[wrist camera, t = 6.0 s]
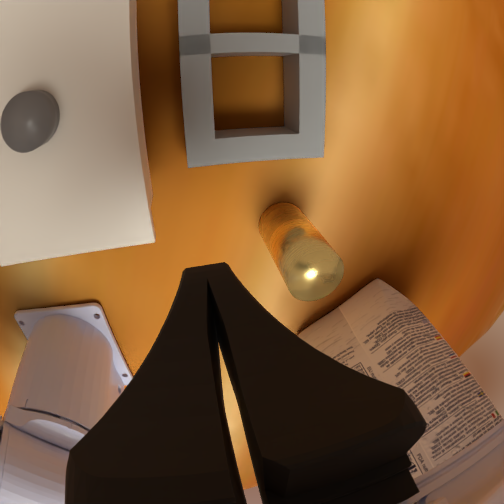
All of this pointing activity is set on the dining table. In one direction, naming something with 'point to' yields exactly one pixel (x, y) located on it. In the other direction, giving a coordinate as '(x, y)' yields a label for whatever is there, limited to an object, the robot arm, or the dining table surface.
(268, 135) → the socket board
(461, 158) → the dining table surface
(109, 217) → the lid
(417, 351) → the juice carton
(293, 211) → the pin
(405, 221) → the dining table surface
